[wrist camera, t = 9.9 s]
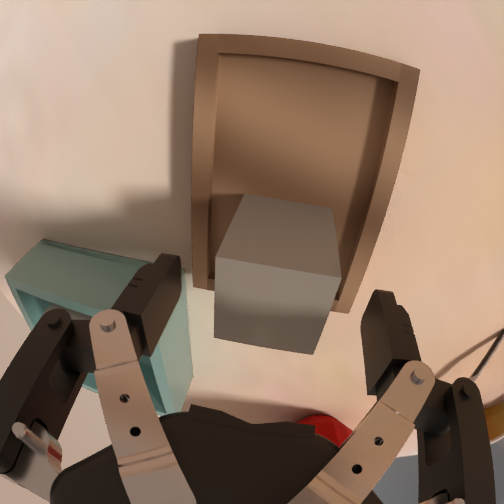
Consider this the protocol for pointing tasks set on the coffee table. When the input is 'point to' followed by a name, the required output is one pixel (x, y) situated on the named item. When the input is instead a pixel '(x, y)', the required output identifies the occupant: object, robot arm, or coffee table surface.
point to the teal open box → (103, 298)
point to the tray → (296, 140)
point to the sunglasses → (498, 416)
